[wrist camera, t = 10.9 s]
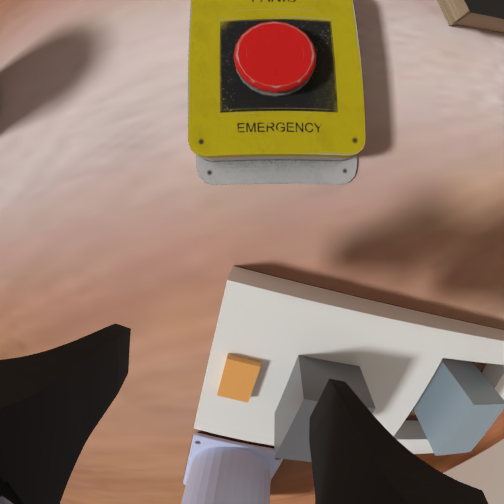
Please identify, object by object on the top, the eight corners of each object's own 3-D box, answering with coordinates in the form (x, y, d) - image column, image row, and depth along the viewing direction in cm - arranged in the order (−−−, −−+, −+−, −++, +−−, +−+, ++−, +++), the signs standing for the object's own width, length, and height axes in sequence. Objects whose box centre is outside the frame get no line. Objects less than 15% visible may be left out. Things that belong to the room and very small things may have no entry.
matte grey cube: (330, 421, 19) (337, 464, 15) (274, 412, 19) (273, 457, 15) (359, 365, 18) (375, 408, 14) (298, 354, 18) (303, 399, 14)
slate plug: (444, 407, 21) (470, 451, 16) (411, 406, 21) (435, 455, 16) (472, 362, 20) (506, 403, 14) (439, 358, 20) (473, 404, 14)
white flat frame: (459, 433, 22) (470, 453, 19) (200, 406, 22) (192, 433, 19) (521, 333, 19) (540, 349, 16) (232, 265, 19) (225, 283, 16)
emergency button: (178, 190, 14) (185, -57, 10) (199, 185, 18) (200, -23, 15) (377, 189, 14) (351, -59, 10) (354, 184, 18) (338, -24, 14)
